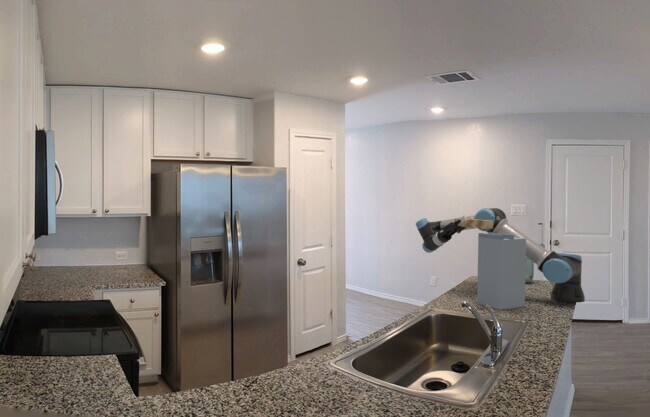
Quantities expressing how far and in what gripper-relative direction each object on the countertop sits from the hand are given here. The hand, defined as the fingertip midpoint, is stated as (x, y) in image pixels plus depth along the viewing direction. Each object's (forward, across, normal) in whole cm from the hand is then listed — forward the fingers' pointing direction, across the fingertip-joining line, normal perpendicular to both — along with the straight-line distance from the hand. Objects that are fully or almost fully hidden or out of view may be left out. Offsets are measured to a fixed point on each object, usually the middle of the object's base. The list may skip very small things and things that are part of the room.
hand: (468, 217), depth 247 cm
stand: (+2, +4, -48) cm, 48 cm away
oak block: (+1, 0, -6) cm, 6 cm away
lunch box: (-34, -48, -27) cm, 65 cm away
